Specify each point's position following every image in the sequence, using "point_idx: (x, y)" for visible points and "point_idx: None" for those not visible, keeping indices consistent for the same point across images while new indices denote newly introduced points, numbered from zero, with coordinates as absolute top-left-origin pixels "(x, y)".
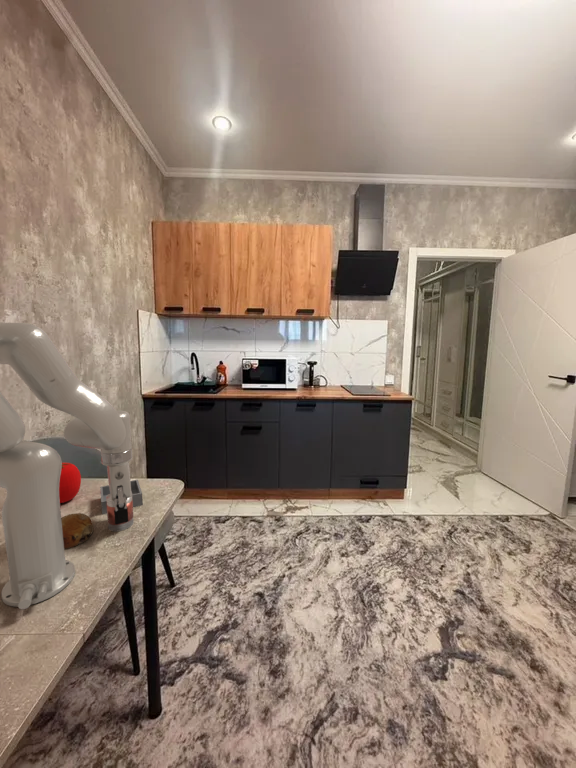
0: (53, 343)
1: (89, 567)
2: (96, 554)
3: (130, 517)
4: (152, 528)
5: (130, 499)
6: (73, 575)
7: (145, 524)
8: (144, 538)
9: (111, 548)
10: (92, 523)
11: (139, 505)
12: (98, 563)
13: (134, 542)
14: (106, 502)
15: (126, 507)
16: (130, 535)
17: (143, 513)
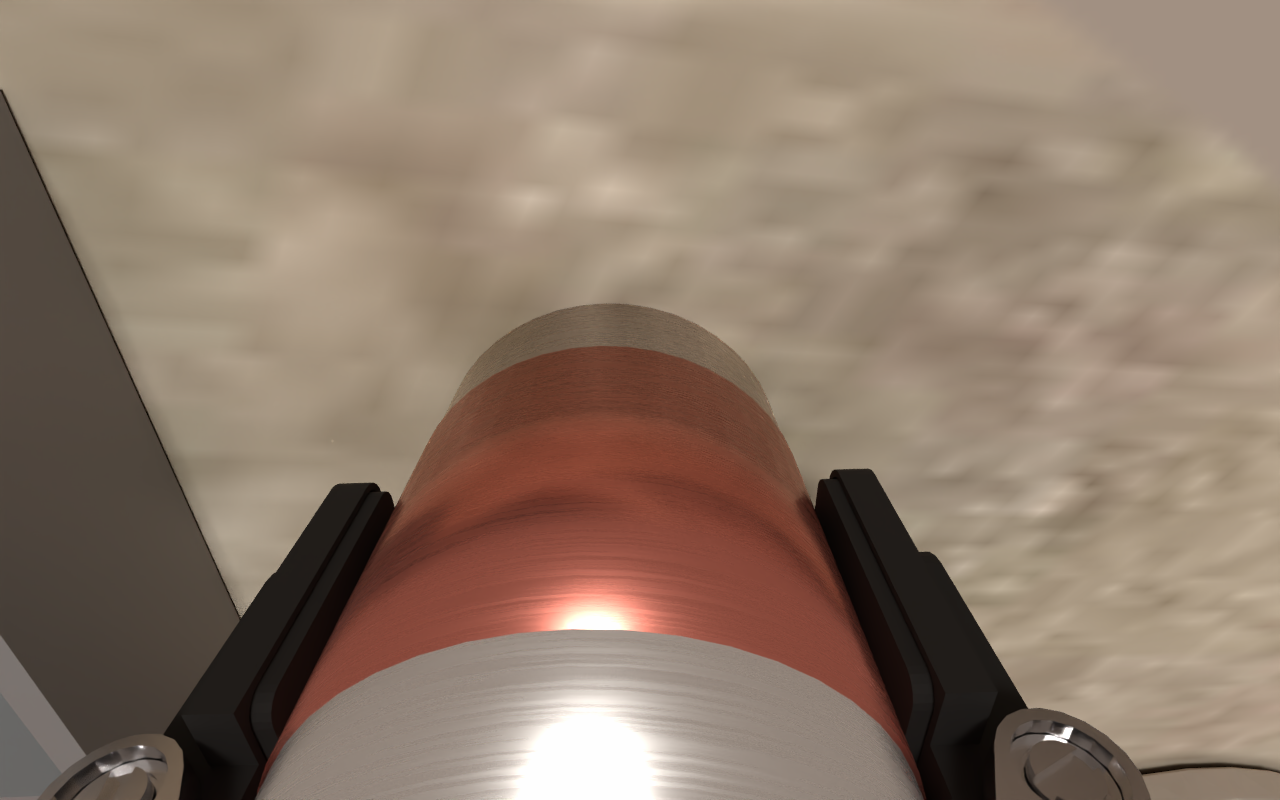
0: None
1: (1223, 690)
2: (1070, 656)
3: (760, 425)
4: (1020, 10)
5: (839, 767)
6: (1274, 781)
7: (798, 123)
8: (1209, 189)
9: (1081, 554)
10: None
11: (25, 159)
12: (1233, 640)
13: (1183, 330)
14: (113, 740)
15: (1140, 781)
16: (967, 365)
17: (370, 113)
